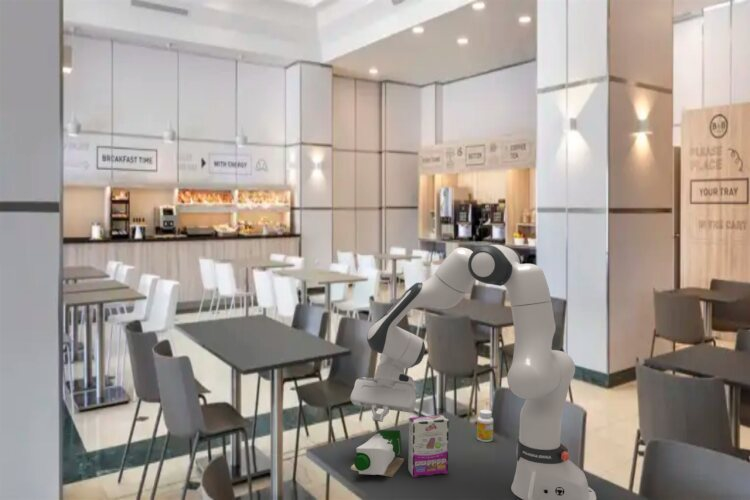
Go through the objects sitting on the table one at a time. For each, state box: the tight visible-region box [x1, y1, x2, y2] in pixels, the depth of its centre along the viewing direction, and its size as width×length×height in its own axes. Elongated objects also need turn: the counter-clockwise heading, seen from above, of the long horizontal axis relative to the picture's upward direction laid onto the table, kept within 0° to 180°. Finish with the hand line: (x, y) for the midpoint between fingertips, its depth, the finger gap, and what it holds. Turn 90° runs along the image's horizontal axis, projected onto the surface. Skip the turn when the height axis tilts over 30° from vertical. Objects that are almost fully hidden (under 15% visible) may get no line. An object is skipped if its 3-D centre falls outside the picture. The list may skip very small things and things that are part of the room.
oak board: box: [350, 456, 405, 478], centre depth 183 cm, size 13×12×1 cm
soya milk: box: [353, 429, 403, 476], centre depth 181 cm, size 9×9×20 cm
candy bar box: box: [407, 414, 450, 478], centre depth 178 cm, size 11×5×16 cm, turn 105°
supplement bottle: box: [476, 409, 494, 443], centre depth 206 cm, size 5×5×10 cm
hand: (377, 420), depth 181 cm, fingers closed
